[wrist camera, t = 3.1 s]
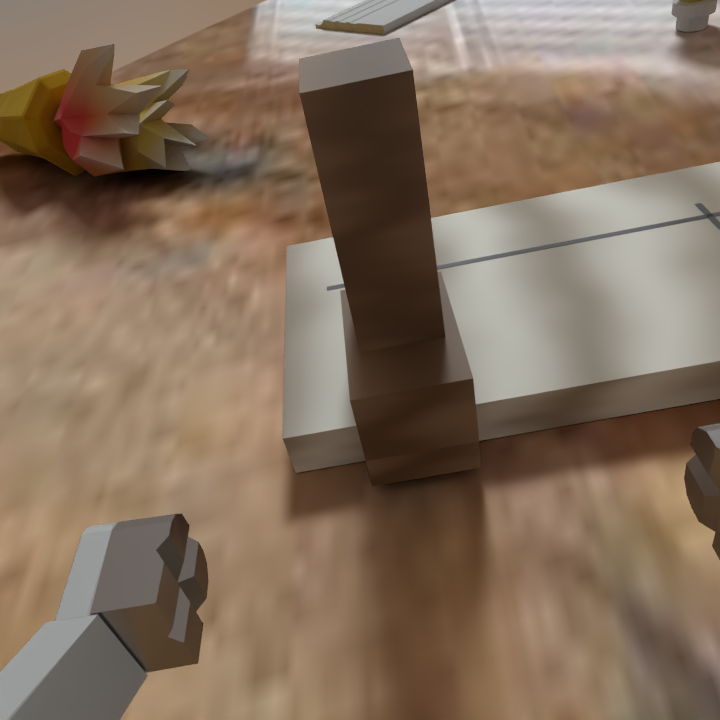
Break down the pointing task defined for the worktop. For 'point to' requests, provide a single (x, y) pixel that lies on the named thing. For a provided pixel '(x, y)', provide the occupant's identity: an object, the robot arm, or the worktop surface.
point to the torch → (97, 119)
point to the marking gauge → (389, 266)
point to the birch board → (537, 312)
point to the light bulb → (692, 14)
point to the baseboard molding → (379, 15)
